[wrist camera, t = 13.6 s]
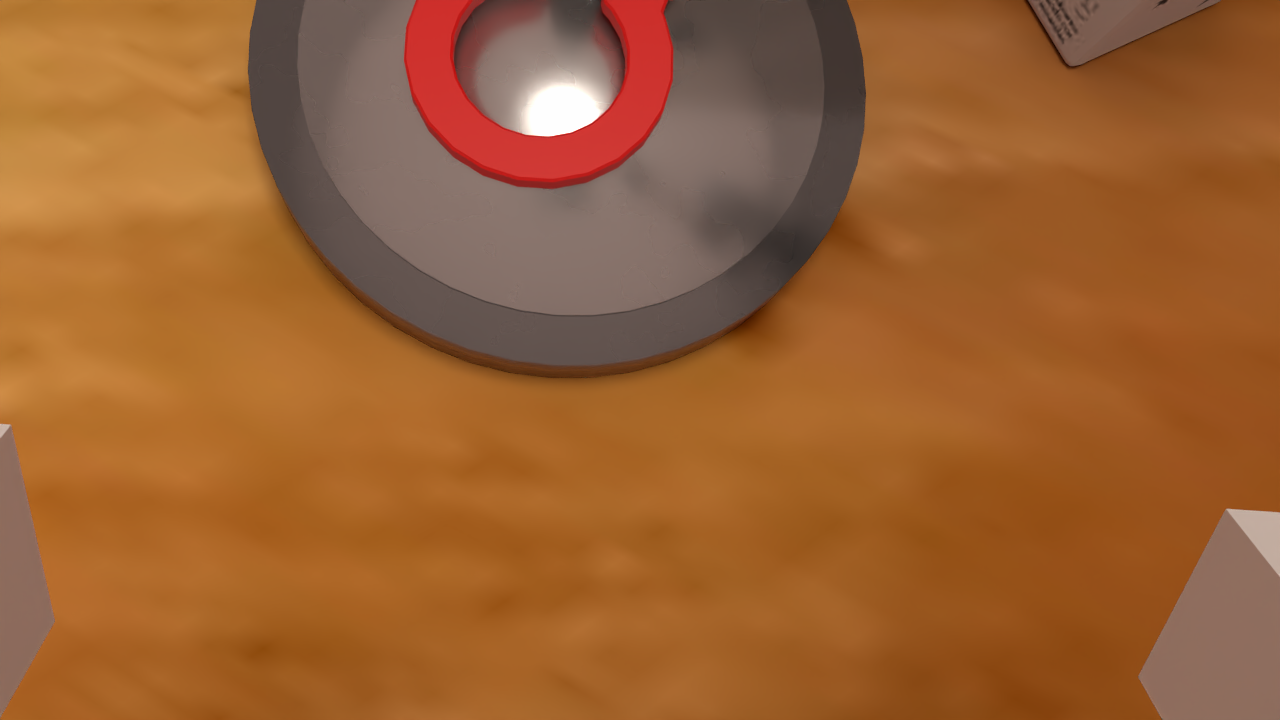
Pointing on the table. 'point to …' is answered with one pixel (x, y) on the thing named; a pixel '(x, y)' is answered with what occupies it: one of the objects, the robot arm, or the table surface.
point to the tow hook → (530, 158)
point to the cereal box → (1106, 23)
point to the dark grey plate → (572, 215)
